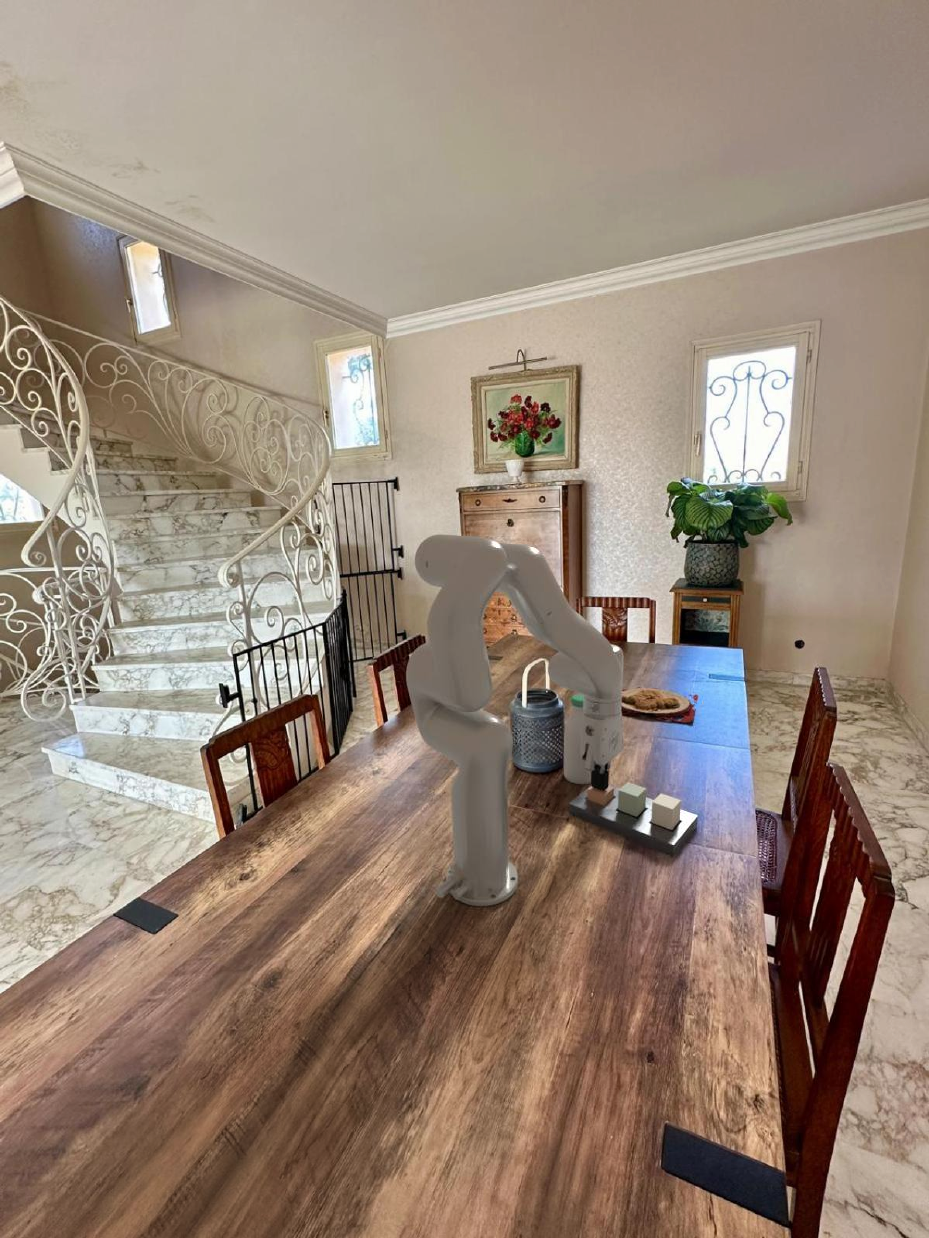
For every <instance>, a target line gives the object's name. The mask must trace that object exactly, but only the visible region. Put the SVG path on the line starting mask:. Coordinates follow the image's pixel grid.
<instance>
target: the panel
mask: <svg viewBox="0 0 929 1238" xmlns="http://www.w3.org/2000/svg"><path fill="white" fill-rule="evenodd" d="M608 786H611V787H614V799H613V800H612V801H611V802H610V803H609V804H608V805H606V806H603V805H600V804H597V803H595V802H592V801H589V800H587V789H588V788H589V787H591V785H589V787H587V788H586V789H584V790H583V791H582V792H581V793H580V794H579V795H578V796H576V797H575V798H573V799H572V800H571V801H570V802H569V803H568V815H569V816H572V817H574V818H576V819H578V820H581V821H583V822H585V823H588V824H591V825H593V826H596V827H598V828H600V829H603V830H606V831H607V832H610V833H613V834H615V835H618V836H621V837H622V838H624V839H627V840H628V841H632V842H634V843H636V844H640V845H642V846H644V847H647V848H649V849H652V850H654V851H657V852H659V853H660V854H661V853H662V854H664V855H666V856H668V857H671V858H674V857H675V855H676V854H677V853H678V852H679V850H681V848H682V847H683V845H685V843H686V841H687V840H688V839H689V838H690V837H691V835H692V834H693V833H694V832H695V830H696V829H697V827H698V815H697V814H696V813H691V812H689V811H686V810H683V809H682V808H681V809H680V821H679V822H678V823H677V824H676V826H675V827H674V828H673V829H672V830H673V831H672V830H671V831H670V830H669V829H666V828H665V829H664V827H661V826H659V825H657V824H654V823H652V822H651V818H652V802H653V801H654V800H655V799H652V798H649V797H647V796H646V806H645V809H644V810H643V811H642V812H641V813H640V814H639V815H638V816H637V817H638V818H637V817H635V816H634V817H633V816H632V815H630V814H629V815H628V814H627V813H625V812H623V811H620V810H618V792H619V789H620V788H621V787H618V786H615V785H612V784H610V783H609V784H608Z"/></svg>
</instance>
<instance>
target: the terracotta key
mask: <svg viewBox="0 0 929 1238" xmlns="http://www.w3.org/2000/svg"><path fill="white" fill-rule="evenodd" d="M590 786H591V785H590ZM590 786H589V788H588V787H587V788H588V789H587V788H586V789H587V800H589V801H592V802H595V803H597V804H600V805H603V806H606V805H608V804H609V803H610V802H611V801H612V800H613V799H614V787H611V786H608V788H607V789H606V790H605V791H602V790H599V789H596V788H593V787H592V786H591V787H590Z"/></svg>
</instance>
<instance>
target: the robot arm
mask: <svg viewBox="0 0 929 1238" xmlns="http://www.w3.org/2000/svg"><path fill="white" fill-rule="evenodd" d="M414 555H415V556H414V566H415V570H416V572H417V574H418V576H419V577H420V579H422V580H423V581H424V582H425V583H426V584H428V585H431V586H433V587H437V588H440V590H439V591H438V593H437V595H436V597H435V599H434V600H433V603H432V605H431V607H430V609H429V612H428V616H427V620H426V630H427V638H428V642H424V643H423V644H421V645H420V646H418V647H417V648H415V650H414V651H413V652H412V653H411V655H410V657H409V659H408V662H407V665H406V672H405V673H406V675H405V677H406V686H407V691H408V693H409V694H408V695H409V698H410V699H409V700H410V703H411V706H412V711H413V714H414V717H415V722H416V724H417V728H418V732H419V735H420V736H421V738H422V740H423V741H424V742H425V744H426V745H427V746H428V747H430V748H432V749H433V750H434V751H436V752H438V753H440V754H442V755H443V756H445V757H447V758H448V759H450V760H451V761H453V762H455V764H456V765H457V767H458V768H457V769H458V770H457V774H456V775H455V777H454V779H453V781H452V782H451V786H450V787H451V788H450V804H451V821H452V823H451V824H452V840H453V842H452V843H453V844H452V845H453V863H451V865H450V866H449V867H448V869H447V871H446V874H445V881H443V882H441V883H440V884H438V885H437V886H436V887H435V889H434V890H435V894H436V895H437V897H438V898H440V899H443V898H445V897H446V896H447V895H448V894H450V895H451V896H453V899H455V900H456V901H457V900H458V901H459V902H461V903H464V904H467V905H470V906H474V907H490V906H494V905H497V904H500V903H502V902H504V901H506V900H508V899H509V898H510V897H511V896H512V895H513V894H514V893H515V891H516V890H517V888H518V886H519V885H518V884H519V873H518V870H517V868H516V867H515V866H514V865H515V864H513V863H512V862H511V861H510V859H509V857H510V856H509V855H510V854H509V850H510V849H509V846H510V845H509V807H508V806H509V804H508V802H509V801H508V778H509V767H510V763H511V762H510V761H511V756H512V752H513V747H514V746H513V743H514V742H513V741H514V737H513V734H512V731H511V729H510V727H509V726H508V725H507V723H505V721H503V720H502V719H501V718H500V717H498V716H496V715H495V714H492V713H490V712H488V711H487V710H483V709H484V708H486V707H487V706H488V705H489V702H491V699H492V696H493V692H494V691H493V689H494V688H493V687H494V684H493V682H494V681H493V676H492V669H491V666H490V660H489V656H488V650H487V645H486V639H485V632H484V615H485V612H486V610H487V607H488V604H489V603H490V601H491V599H492V597H493V596H494V595H495V593H496V592H497V593H503V594H505V596H506V597H507V598H508V600H509V602H511V605H512V606H513V608H514V610H515V611H516V613H517V615H518V616H519V617H520V619H521V621H522V623H523V624H524V626H525V627H526V629H527V631H528V632H529V633H530V635H532V636H533V637H534V638H536V640H539V641H540V642H541V643H543V644H544V645H546V646H548V647H550V648H551V649H554V650H556V651H557V652H556V653H555V654H554V655H553V656H552V657H551V658H550V660H549V662H548V664H547V665H548V666H547V674H548V677H549V679H550V680H551V681H552V682H553V683H554V684H556V685H557V686H559V687H561V688H564V689H568V690H570V691H573V692H577V693H579V694H584V698H583V712H584V713H585V714H584V719H583V726H582V735H581V758H582V760H586V763H585V769H586V770H589V771H591V783H590V786H592V787H593V788H596V789H599V790H602V791H605V790H606V789H607V788H608V784H610V783H609V781H610V780H609V779H610V776H609V775H610V769H611V763H612V760H613V759H614V758H616V757H617V756H618V755H620V754H621V753H622V752H623V748H624V722H623V721H624V720H623V715H622V712H621V708H622V690H623V680H624V679H623V678H624V651H623V650H622V648H621V647H620V646H618V645H615V644H612V643H610V641H609V640H608V639H607V638H606V636H604V634H602V632H601V631H599V630H598V628H596V627H595V626H593V625H592V624H591V623H590V622H589V621H588V620H586V619H585V617H583V616H582V615H581V614H580V613H578V612H577V611H576V610H575V609H574V608H573V607H571V606H570V603H569V601H568V599H567V597H566V596H565V594H564V592H563V590H562V588H561V587H560V585H559V583H558V581H557V579H556V577H555V575H554V573H553V571H552V569H551V567H550V565H549V563H548V561H547V560H546V558H545V556H544V555H543V553H541V551H540V550H539V549H537V548H535V547H534V546H530V545H527V544H526V545H525V544H517V543H507V542H506V543H505V542H503V543H502V542H497V541H495V540H493V539H491V538H487V537H482V536H474V535H457V534H456V535H454V534H433V535H430V536H427V538H425V539H423V541H422V542H420V544H419V545H418V547H417V549H416V551H415V554H414Z"/></svg>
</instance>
